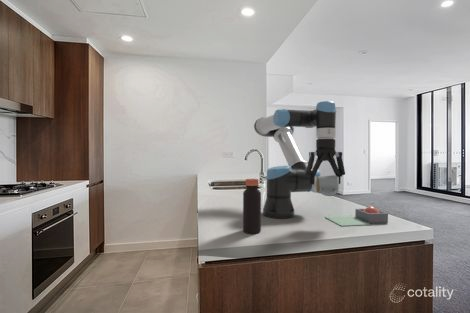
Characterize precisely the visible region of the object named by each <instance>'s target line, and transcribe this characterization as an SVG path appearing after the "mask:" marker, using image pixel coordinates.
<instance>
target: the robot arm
mask: <svg viewBox="0 0 470 313" xmlns="http://www.w3.org/2000/svg"><path fill="white" fill-rule="evenodd" d="M336 113H337V110H336V102H335V101H331V100H322V101H319V102H317V104H316V107H315V109H313V110H306V109H285V108H282V109H281V108H279V109H276V110H275V111H274V113H273V114H272V115H270V116H267V117H264V116H262V117H260V118H258V119H256V121H255V122H254V124H253V128H254V131H255V132H256V134H258V135H259V136H262V137H265V138H267V137H269V138H270V137H271V138H273V139H274V141H275V142H276V143H278V145H279V147H280V149H281V152H282V154H283V156H284V158H285V160H286V164H288V165H277V166H272V167H270V168H268V169H267V170H266V177H265V179H266V199H265V203H264V205H263V208H262V214H263V216H265V217H267V218H268V217H269V218H273V219H290V218H293V217H295V208H294V205H293V201H292V193H304V192H305V193H310V192H312V193H314V194H317V177H318V176H322V175H321V172H320V170H319V169H320V167H321V164H322V163H323V162H329V164H330V166H331V169H332V170H333V172H334V175H335V176H336V177H337V181H338V192H337V193H340V192H339V188H340V187H339V186H340V185H341V182H342V181H341V178H342V177H343V176H344V175H346V170H345V166H344V162H343V152H342V151H336V139H335V138H336V118H337V117H336V115H337V114H336ZM296 127H297V128H298V127H299V128H306V129H309V128H310V129H313V128H316V129H315V130H316V131H315V136H316V143H315V144H316V146H315V147H316V148H315V149H316V150H315V151H310V152H308V156H309V158H308V161H306V160H305V159H304V157H303V155H302V152H301V151H300V150H299V147H298V145H297V143H296V141H295V139H294V137H293V135H294V131H295V128H296ZM316 156H317V158H316V160H315V157H316ZM314 162H315V163H314Z"/></svg>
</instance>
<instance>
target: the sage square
mask: <svg viewBox="0 0 470 313" xmlns="http://www.w3.org/2000/svg"><path fill="white" fill-rule="evenodd" d="M324 218H325V219H326V220H329V221H331V222H332V223H334V224H336V225H338V226H340V227H359V226H370V225H371V223H367V222H364V221H362V220H360V219H357V218H355V217H354V216H352V215H339V216H336V215H335V216H325V217H324Z"/></svg>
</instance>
